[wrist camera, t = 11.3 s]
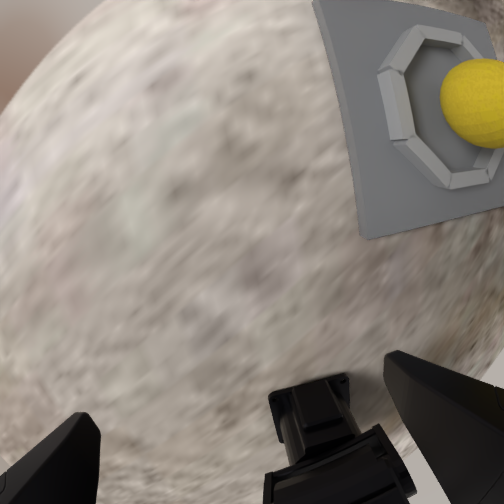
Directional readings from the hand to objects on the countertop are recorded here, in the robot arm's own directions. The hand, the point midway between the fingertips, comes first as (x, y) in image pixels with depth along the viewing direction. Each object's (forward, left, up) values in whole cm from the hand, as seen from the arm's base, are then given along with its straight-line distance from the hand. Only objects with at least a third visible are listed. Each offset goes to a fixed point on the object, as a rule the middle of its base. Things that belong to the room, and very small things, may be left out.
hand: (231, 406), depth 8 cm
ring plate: (+8, -17, -12) cm, 22 cm away
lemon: (+8, -17, -11) cm, 22 cm away
